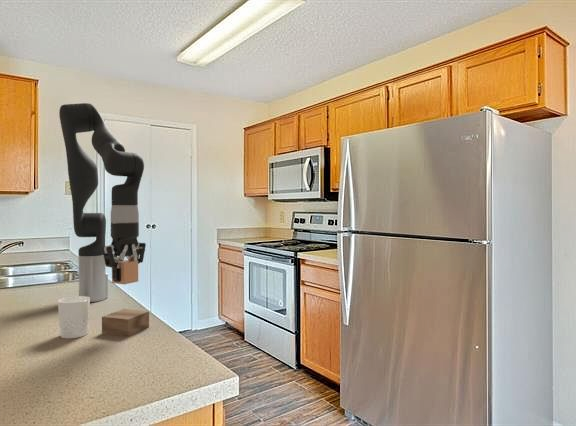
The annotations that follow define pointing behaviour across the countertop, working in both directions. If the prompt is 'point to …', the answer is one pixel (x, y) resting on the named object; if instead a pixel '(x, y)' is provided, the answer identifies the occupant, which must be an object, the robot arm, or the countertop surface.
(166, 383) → the countertop surface
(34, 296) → the countertop surface
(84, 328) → the white cup
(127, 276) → the terracotta block
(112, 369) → the countertop surface
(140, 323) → the walnut block
